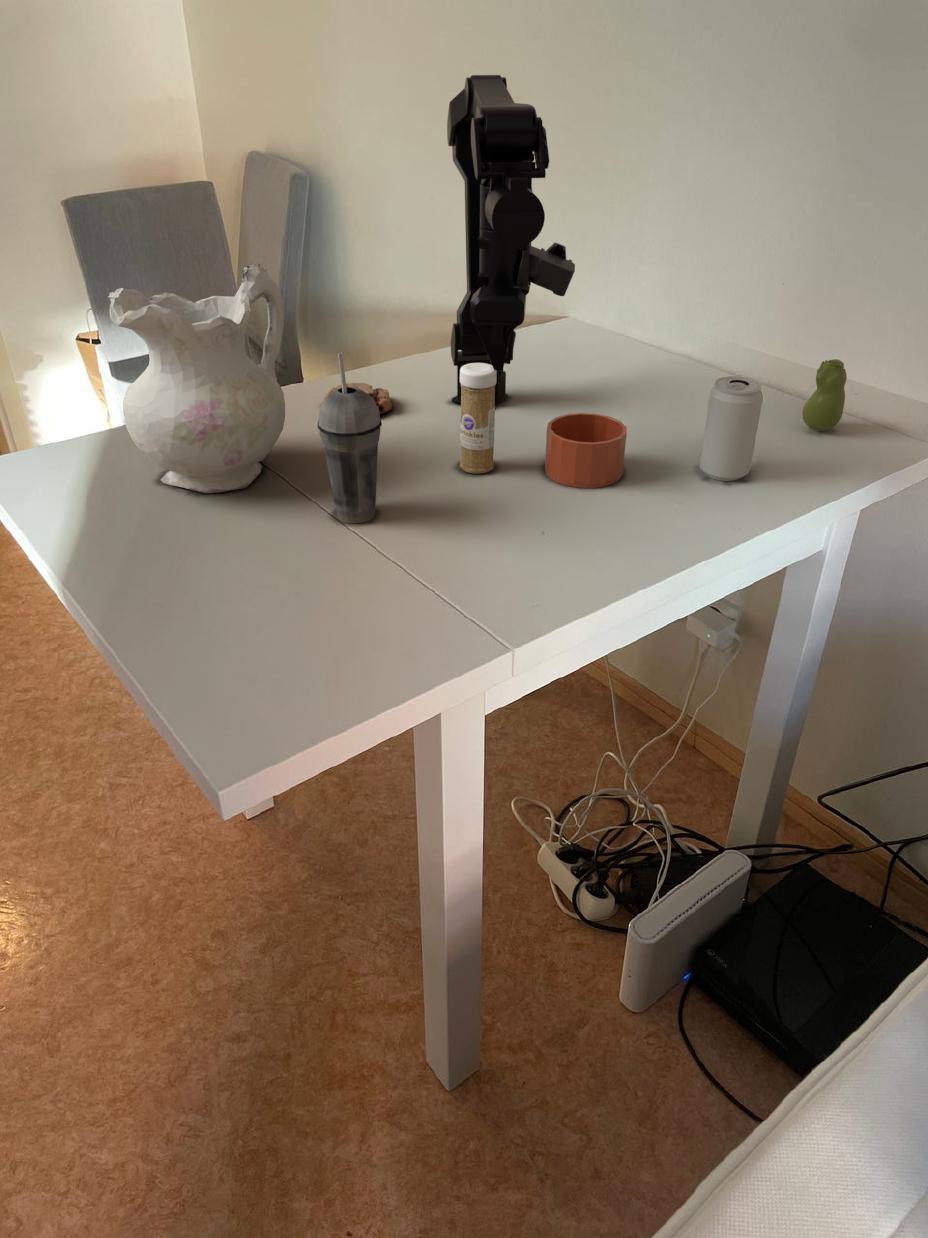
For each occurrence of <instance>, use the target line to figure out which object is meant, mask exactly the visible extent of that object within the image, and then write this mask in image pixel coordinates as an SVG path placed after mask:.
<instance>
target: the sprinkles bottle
mask: <svg viewBox="0 0 928 1238" xmlns="http://www.w3.org/2000/svg"><path fill="white" fill-rule="evenodd" d="M496 381H497V371H496V370H494V369H493V366H492V365H490V364H486V363H470V364H466V365H464V366H462V367H461V369H460V383H461V404H460V421H459V422H460V423H459V428H460V430H459V443H460V462H459V467H460V469H461V470H462V471H464V472H466V473H468V474H473V475H475V474H476V475H481V474H487V473H489V472H490V471H492V470H493V469H494V468H495V462H494V447H495V421H496V419H495V418H496V415H495V414H496V405H494V403H495V401H494V400H495V386H496Z"/></svg>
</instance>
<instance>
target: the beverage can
mask: <svg viewBox="0 0 928 1238" xmlns="http://www.w3.org/2000/svg"><path fill="white" fill-rule="evenodd" d="M762 385H763V384H762V383H760V382H759V381H757V380H755V379H753V378H749V377H746V376H735V375H734V376H730V375H729V376H722V377H719V378H717V379H716V380H714V386H713V387H712V388H711V389H710V392H709V398H708V404H707V411H706V419H705V425H704V432H703V439H702V444H701V451H700V457H699V458H700V459H699V468H700V469H701V471H702V472H704V474H705V475H706V476H707V477H708V478H711V479H714V480H716V481H722V482H734V481H738V480H740V479H741V478H743V477H745V476H747V475H748V474H749V472H751V468H752V467H751V466H752V461H753V457H754V456H753V455H754V450H755V444H756V438H757V433H758V429H759V422H760V417H761V412H762V411H761V409H762V407H763V406H762V405H763V401H764V394H763V392H762V387H763V386H762Z"/></svg>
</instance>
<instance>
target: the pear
mask: <svg viewBox="0 0 928 1238" xmlns="http://www.w3.org/2000/svg"><path fill="white" fill-rule="evenodd" d="M847 379H848V377H847V371H846V368H845V363H844V362H843V361H842V360H840V359H835V358H834V359H829V360H828V359H826V360H823V361H822V362H821V363H820V365H819V367H818V368H817V370H816V374H815V384H816V390H814V391H813V392H812V394H811V395H810V397H809V398H808V399H807V401H806V402H805V403H804V404H803V407H802V412H801V414H802V420H803V422H804V424H805V425H806V426H807V427H808V428H810V429H811V430H813V431H817V432H826V431H830V430H832V429H834V428H835V427H836V426H837V425H838V424H839V423H840V421H841V420H842V417H843V413H844V408H845V403H846V391H845V386H846V383H847Z"/></svg>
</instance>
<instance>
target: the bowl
mask: <svg viewBox="0 0 928 1238" xmlns="http://www.w3.org/2000/svg"><path fill="white" fill-rule="evenodd" d="M627 432H628V427H627V426H626V425H625V424H624V423H623V422H622V421H621V420H618V419H617V418H614V417H612V416H610V415H609V416H608V415H604V414H600V413H592V412H591V413H590V412H589V413H588V412H575V413H566V414H563V415H559V416H556V417H554V418H553V419H551V420H549V422H548V423H547V427H546V440H545V455H544V456H545V459H544V473H545V474H546V476H547V477H548V478H549V479H550V480H552V481H554V482H556V483H558V484H561V485H563V486H568V487H571V488H579V489H580V488H581V489H595V488H603V487H607V486H610V485H613V484H615V483H617V482H618V481H619V480H620V479H621V478H622V477H623V473H624V465H625V456H626V455H625V454H626V446H627V445H626V444H627V434H628V433H627Z"/></svg>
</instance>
